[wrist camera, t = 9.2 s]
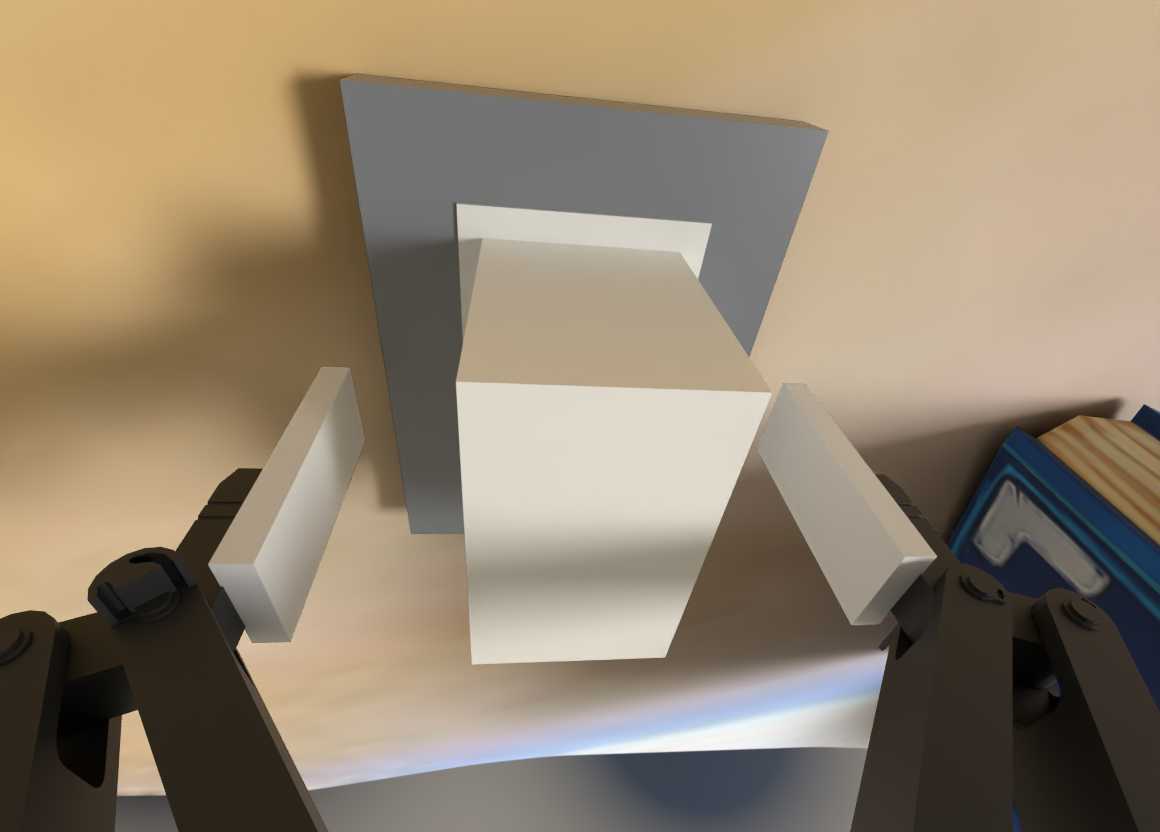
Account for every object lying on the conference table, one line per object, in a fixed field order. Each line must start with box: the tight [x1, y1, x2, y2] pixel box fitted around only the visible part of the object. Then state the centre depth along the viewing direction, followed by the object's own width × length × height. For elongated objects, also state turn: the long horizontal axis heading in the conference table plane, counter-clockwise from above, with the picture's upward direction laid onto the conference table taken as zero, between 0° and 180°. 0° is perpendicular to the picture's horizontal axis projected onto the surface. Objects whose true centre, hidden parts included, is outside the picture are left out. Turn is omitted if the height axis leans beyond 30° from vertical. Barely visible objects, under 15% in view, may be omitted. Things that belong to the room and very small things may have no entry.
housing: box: [456, 238, 772, 664], centre depth 15 cm, size 10×6×7 cm, turn 174°
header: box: [340, 74, 828, 534], centre depth 16 cm, size 16×12×5 cm
